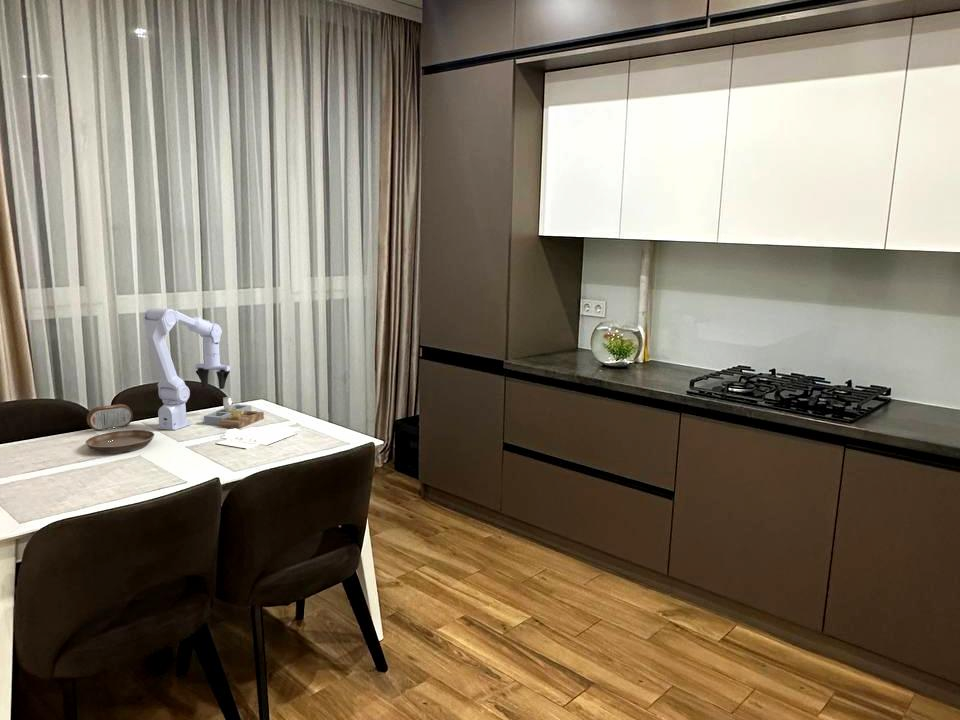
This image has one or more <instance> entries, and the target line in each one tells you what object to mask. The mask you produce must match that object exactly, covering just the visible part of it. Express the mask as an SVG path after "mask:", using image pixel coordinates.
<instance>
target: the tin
mask: <svg viewBox="0 0 960 720" xmlns="http://www.w3.org/2000/svg"><path fill="white" fill-rule="evenodd" d="M133 414H134V413H133V411H132V410H131V408H130V407H129V406H128V405H127V404H123V403H122V404H119V403H118V404H113V405H103V406H96V407H94V408H92V409H90V411H89V412H88V413H87V415H86V423H87V425H88V426H89V427H90V428H92V429H93V430H95V431H103V430H102V429H106V430H109V429H108V428H113V427H121V428H124V426H125V427H127V426H128V425H129V424H131V422H132V421H133V418H134V415H133ZM113 429H114V428H113Z"/></svg>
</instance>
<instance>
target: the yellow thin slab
mask: <svg viewBox="0 0 960 720" xmlns="http://www.w3.org/2000/svg"><path fill="white" fill-rule="evenodd" d="M228 413H231V417H232V419H237V420H239V419H240V414H243V413H244V411H241V410H230V409H229V410H228Z"/></svg>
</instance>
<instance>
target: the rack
mask: <svg viewBox="0 0 960 720" xmlns="http://www.w3.org/2000/svg"><path fill="white" fill-rule="evenodd" d="M232 408H233V410H241V411H252V405H246V404H240V403H239V404H237V403H235V404H232ZM230 416H231V413H228V412H224V408H222V409H219V410H216V411H214V412H210V413H208V414H206V415H203V425H211V426H220V420H222V419H225V418H227V417H230Z"/></svg>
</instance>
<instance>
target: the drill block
mask: <svg viewBox="0 0 960 720" xmlns="http://www.w3.org/2000/svg"><path fill="white" fill-rule="evenodd" d="M263 419H265V413H264V411H257V410H256V411H254V410H251V411H244V413H243V414H240V419H239V420H237V419H232V417H231V416H230V417H227V418H225V419H222V420H220V425H219V427H220V428H224V429H225V428H227V429H234V428H236V429H239V430H240V429H243V428H245V427H247V426H250V425H252V424H254V423H257V422H259V421H262V420H263Z"/></svg>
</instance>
